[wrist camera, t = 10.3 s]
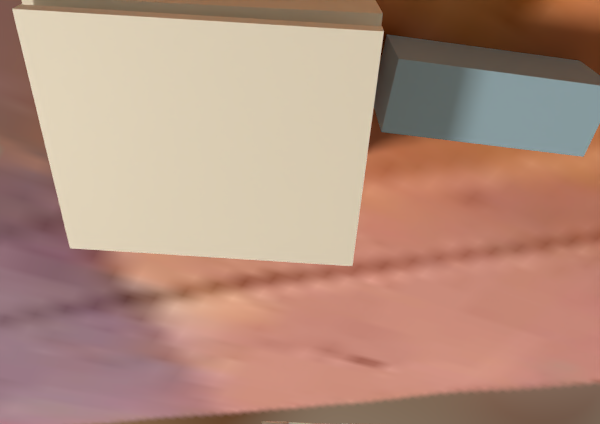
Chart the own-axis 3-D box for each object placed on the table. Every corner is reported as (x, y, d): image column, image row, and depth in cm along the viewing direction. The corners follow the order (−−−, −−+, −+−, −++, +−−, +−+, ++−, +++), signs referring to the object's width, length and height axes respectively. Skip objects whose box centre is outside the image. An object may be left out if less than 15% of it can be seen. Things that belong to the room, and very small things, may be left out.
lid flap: (382, 26, 17) (383, 31, 17) (351, 257, 23) (352, 266, 22) (21, 4, 17) (12, 9, 17) (75, 239, 23) (70, 248, 22)
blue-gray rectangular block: (577, 59, 27) (616, 87, 24) (550, 122, 29) (583, 156, 26) (385, 33, 26) (398, 58, 23) (371, 99, 28) (381, 131, 25)
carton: (359, -30, 25) (382, 13, 18) (339, 161, 30) (352, 248, 24) (96, -44, 24) (20, -5, 18) (125, 152, 30) (76, 238, 23)
